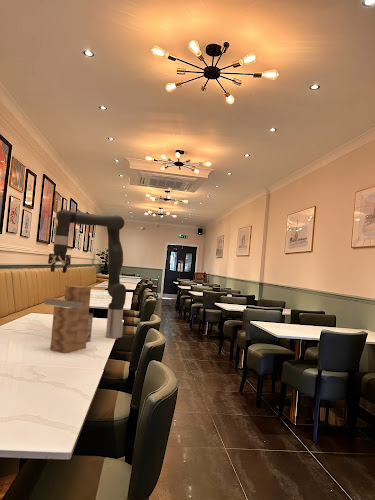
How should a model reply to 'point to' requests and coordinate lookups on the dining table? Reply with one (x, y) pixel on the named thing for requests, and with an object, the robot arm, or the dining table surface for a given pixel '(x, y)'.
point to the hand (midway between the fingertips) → (58, 272)
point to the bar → (64, 303)
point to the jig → (71, 321)
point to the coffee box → (89, 327)
